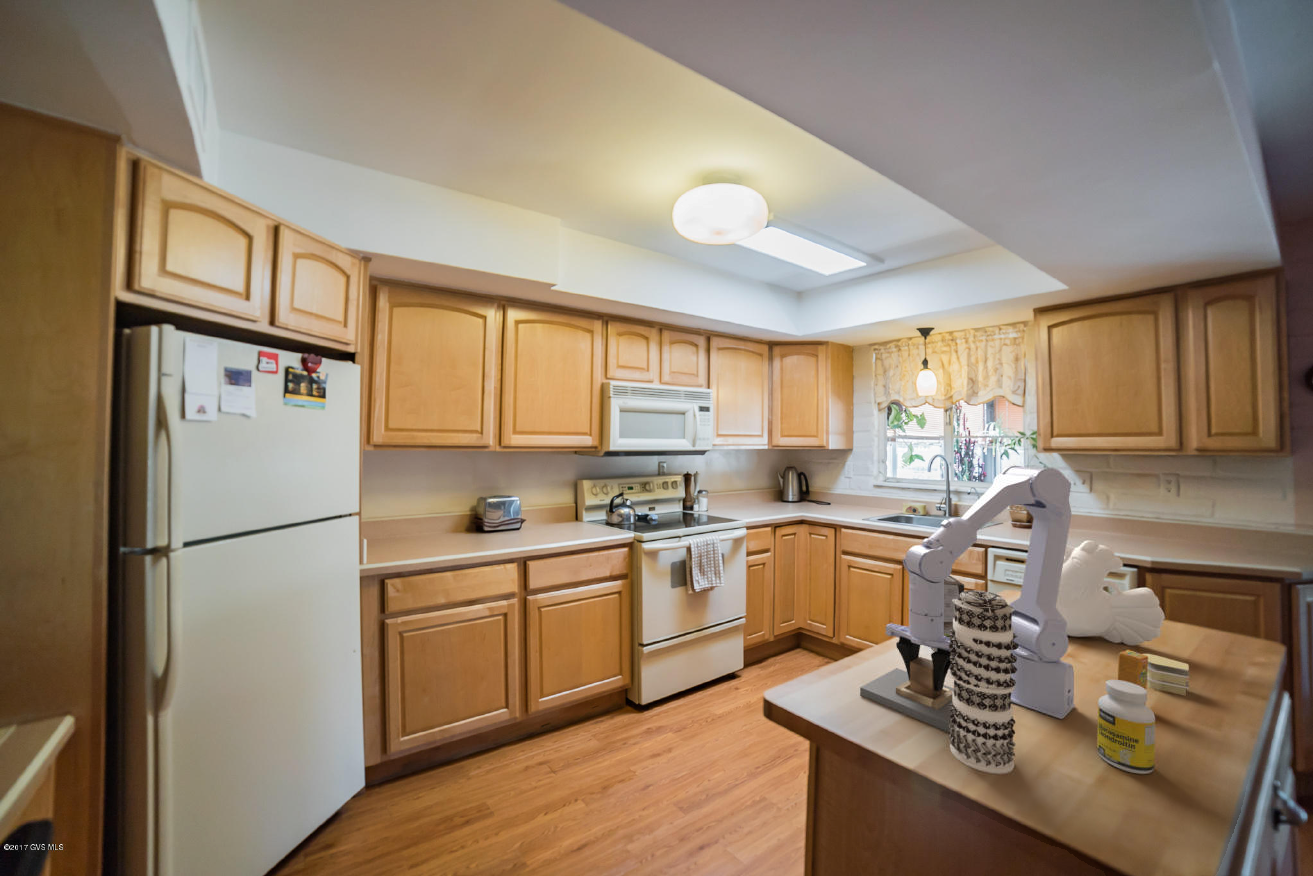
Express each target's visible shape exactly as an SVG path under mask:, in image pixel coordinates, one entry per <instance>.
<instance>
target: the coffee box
mask: <svg viewBox="0 0 1313 876" xmlns="http://www.w3.org/2000/svg"><path fill="white" fill-rule="evenodd" d="M964 591H965V584H963V583H962V582H960V581H959V580H957V579H956V578H955V577H953V576H951V575H949V577H947V578H945V579H944V636H946V637H948V635H949V634H950V631H951V630H953V618H954V617H955V613H954V608H955V604H954V603H953V601H952V600H953V599H954V598H957V597H958V596H959V595H960V594H961V593H962V592H964ZM953 637H954V638H955V636H953ZM948 638H949V637H948ZM931 649H932V650H933V653H934V652H937V649H934V648H931Z"/></svg>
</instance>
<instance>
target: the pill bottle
mask: <svg viewBox="0 0 1313 876" xmlns="http://www.w3.org/2000/svg"><path fill="white" fill-rule="evenodd" d="M1105 691H1106V693H1107V694H1104V695H1102V696H1100V697H1099V699H1098V702H1097V744H1096V746H1097V748H1096V749H1097V753H1098V755H1099V757H1100V758H1101V759H1103V761H1105V762H1106V763H1108V764H1110V765H1111V766H1113V767H1116V768H1118V769H1120V770H1122V771H1125V772H1129V773H1133V774H1137V775H1138V774H1139V775H1146V774H1151V773H1152V772H1153V771H1154V768H1155V742H1156V741H1155V740H1156V716H1155V714H1154V713H1155V712H1153V710H1152V709H1151V708H1150V707H1149V706H1148V705H1147V704H1146V703H1145V702H1148V691H1147V689H1146V690H1145V689H1144V688H1142V687H1141V686H1138V685H1136V684H1133V683H1130V682H1126V681H1121V680H1118V679H1109V680H1107V681H1105Z"/></svg>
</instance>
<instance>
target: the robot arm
mask: <svg viewBox="0 0 1313 876" xmlns="http://www.w3.org/2000/svg"><path fill="white" fill-rule="evenodd" d="M1071 488H1072V482H1070V480H1069V479H1068V478H1067V477H1066V476H1065V475H1064V473H1062V472H1061V470H1058V469H1057V468H1053V467H1044V468H1043V467H1029V466H1028V467H1027V466H1021V465H1011V466H1007V467H1006V468H1005V469H1003V471H1002V472H1001V473H1000V474H998V475H997V476H996V475H995V477H994V479H993V483H992V485H991V486H990V487H989V488H988V489H987V490H986V491H985V493H984V494H982V495H981V496H980V498H979V499H978V500H977V501H975V503H974V504H973V505H972V506H971V507H970V508H969V509H968V510H967V511H966V512H965V513H964V514H963V515H962V516H961V517H960V518H958V517H955V518H954V517H951V518H949V519H948V520H947V519H943V521H941V522H940V527H939V528H938V529H937V530H935V532H933V533H932V534H931V535H930V536H929V537H928V538H927V537H926V538H924V539H923V540H922V544H918V545H914V546H912V547H911V548H909V549H908V550H907V552H906V555H905V557H904V558H902V563H903V566H904V569H906V571H907V573H908V581H909V583H908V584H909V586H908V587H909V589H908V591H909V592H908V593H909V595H908V599H909V600H908V609H909V610H908V611H909V612H908V626H905V625H901V624H897V623H896V624H895V623H892V622H891V623H888V624H886V625H885V636H888V637H896V638H898V641H897V642H896V648H897V651H898V652H899V654H900V656H901V658H902V660H903V662H904V665H905V668H906V672H907V673H908V677H909V681H910V662H911V661H913V660H915V659H917V658H919V657H920V650H921V646H925V647H928V648H931V649H932V648H934V649H937V652H934V651H933V652H931V653H930V657H931V660H932V662H933V670H934V690H935V691H940V690H941V689H943V685H945V680H946V677H947V674H948V673H949V670H950V669H949V666H950V665H951V661H950V660H949V657H950V656H951V653H952V652H950V648H949V646H948V644H949V643H950V638H948V637H946V636H944V579H945V578H947V577H949V576H951V573H952V571H953V565H954V564H955V563H956V561H957V559H958V558H960V557H961V556H962V555H963V554H964V553H965V552H967V550H968V549H970V548H971V547H972V546H973V545H974V544H975V543H977V541H978V532H979V530H981V528H983V527H984V526H986V525H987V524H988V523H989V522H991V521H992V520H993V519H994V518H995V517H997V516H998V515H1000V514H1001V513H1002V512H1003V511H1005V510H1006V509H1007V508H1008V507H1010V506H1017V505H1022V507H1024V508H1025V510H1027V512H1028V513H1029V514H1030V515H1031V516H1032V518H1033V520H1032V525H1031V533H1030V538H1029V545H1028V550H1027V555H1026V561H1025V568H1024V573H1023V578H1022V585H1021V590H1020V597H1019V598H1017V599H1015V600H1013V601H1011V602H1010V603H1009V604H1008V605H1009V606H1011V607H1012V608H1013V609H1014V611H1013V612H1012V629H1013V633H1014V634H1015V635H1016V636H1017V638H1016V639H1014V642H1015V643H1017V644H1018V646H1019V647H1018V648H1017V649H1016V650H1013V651H1012V650H1011V651H1010V653H1011V654H1013V655H1014V656H1016V657H1017V661H1016V662H1015V663H1012V664H1013V665H1014V666H1015V667H1016V668H1017V671H1016V672H1015V673H1013V674H1010V675H1011V678H1013V679H1014V680H1015V682H1016V684H1015V689H1014V690H1013V692H1011V703H1014V704H1017V705H1020V706H1022V707H1024V708H1028V709H1031V710H1034V711H1036V712H1040V713H1042V714H1045V715H1048V716H1051V717H1054V718H1057V719H1060V720H1063V719H1064V718H1065V717H1066V716H1067V715H1068V714H1069V713H1070V712H1071V710H1073V709H1074V707H1075V703H1074V700H1075V699H1074V697H1075V690H1074V688H1075V685H1074V684H1075V673H1074V672H1075V671H1074V667H1073V665H1072V664H1071V663H1068V662H1065V661H1063V660H1061V659H1062V658H1063V657H1064V656H1065V655H1066V653H1067V652H1068V649H1069V638H1068V635H1067V634H1066V627H1067V622H1066V621H1065V619H1064V618H1063V616H1062V615H1061V614H1060V612H1059V611H1058V610H1057V608H1056V603H1057V597H1058V591H1059V585H1060V579H1061V573H1062V568H1063V562H1064V556H1065V550H1066V545H1068V537H1069V532H1070V526H1071V521H1072V520H1071V519H1072V509H1071V503H1070V493H1071ZM1012 640H1013V639H1012ZM953 647H954V645H953Z"/></svg>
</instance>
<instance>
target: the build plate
mask: <svg viewBox="0 0 1313 876" xmlns="http://www.w3.org/2000/svg"><path fill="white" fill-rule="evenodd" d="M859 689H860V690H859V691H860V692H859V695H860V696H862V697H864V698H866V699H868V700H871V701H872V702H873V701H874V702H876V703H879V704H880V705H883V706H885V707H888V708H889V709H892V710H894V711H896V712H898V713H899V712H900V713H901V714H904V715H906V716H909V717H911V718H913V719H917V720H918V721H921V722H923V723H926V724H927V725H930V726H932V727H935V728H937V729H939V730H941V731H944V732H947V733H949V734H951V733H950V729H949V725H950V724H951V723H952V722H951V718H950V714H951V713H952V712H951V708H950V704H952V692H953V691H954V687H950V686H947V685H945V684H944V685H943V689H942V695H941V696H939V697H938V698H936V699H935V700H933V699H931V698H928V697H925V696H923V695H920V694H918V693H915V692H912V691H910V681H909V677H908V673H907V670H903V669H900V668H898V667H895V668H894V669H892V670H890V671H889V672H887V673H884V674H882V675H881V676H879V677H877V678H875V679H873V680H871V681H869V682H867V683H865V684H864V685H862V686H860V688H859Z"/></svg>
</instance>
